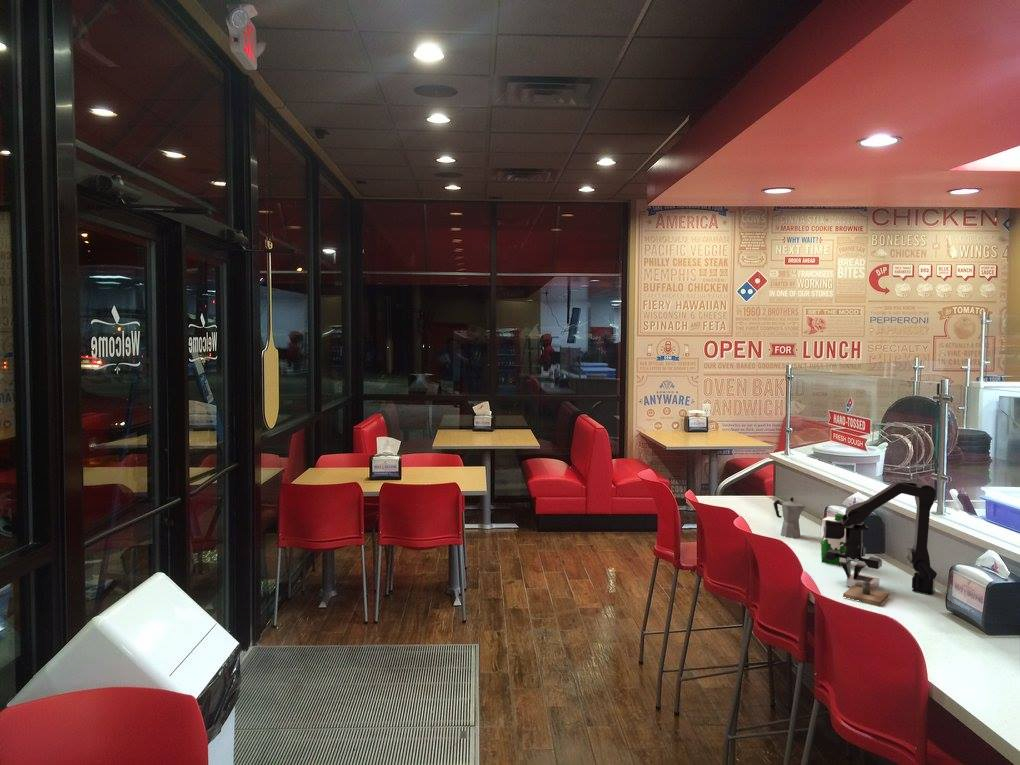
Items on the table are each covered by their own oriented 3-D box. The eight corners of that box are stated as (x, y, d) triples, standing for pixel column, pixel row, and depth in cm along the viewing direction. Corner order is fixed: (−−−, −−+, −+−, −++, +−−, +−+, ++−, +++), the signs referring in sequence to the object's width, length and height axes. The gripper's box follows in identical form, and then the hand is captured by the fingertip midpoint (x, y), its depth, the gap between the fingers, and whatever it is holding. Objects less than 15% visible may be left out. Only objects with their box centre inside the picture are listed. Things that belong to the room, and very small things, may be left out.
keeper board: (888, 597, 259) (889, 580, 259) (879, 606, 250) (880, 589, 250) (852, 589, 267) (853, 573, 266) (843, 597, 258) (843, 581, 257)
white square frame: (879, 586, 271) (879, 578, 271) (872, 592, 264) (872, 584, 264) (853, 580, 277) (853, 572, 276) (846, 586, 270) (846, 578, 270)
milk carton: (841, 566, 294) (843, 518, 293) (818, 562, 299) (820, 514, 298) (847, 562, 300) (849, 514, 299) (824, 557, 306) (826, 510, 305)
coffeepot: (808, 536, 339) (810, 498, 338) (799, 540, 333) (801, 501, 332) (777, 530, 350) (778, 493, 349) (767, 533, 344) (769, 495, 343)
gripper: (886, 540, 272) (884, 581, 273) (834, 531, 284) (832, 570, 285) (878, 546, 263) (876, 589, 264) (825, 537, 275) (823, 577, 276)
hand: (852, 581), depth 273 cm, fingers closed on white square frame
